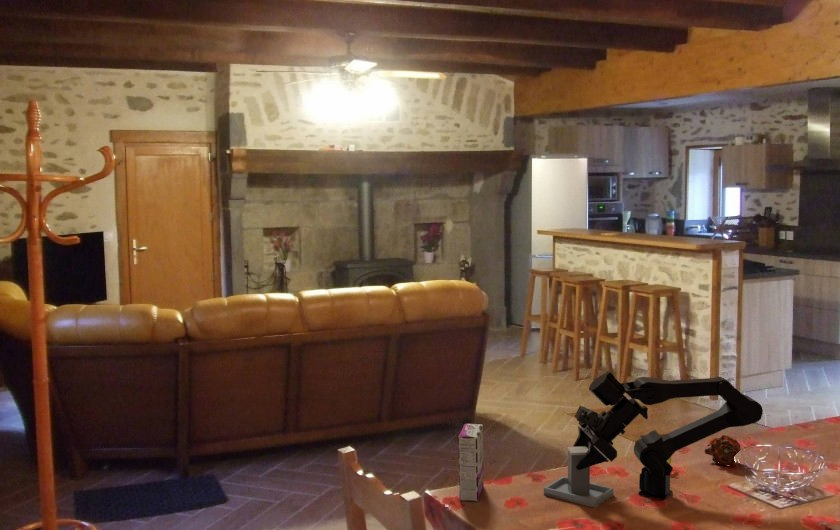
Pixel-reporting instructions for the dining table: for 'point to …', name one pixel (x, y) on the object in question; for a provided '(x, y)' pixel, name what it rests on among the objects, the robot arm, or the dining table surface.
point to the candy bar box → (471, 462)
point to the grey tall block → (578, 472)
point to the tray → (561, 491)
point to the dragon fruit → (723, 450)
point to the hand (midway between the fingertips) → (573, 462)
